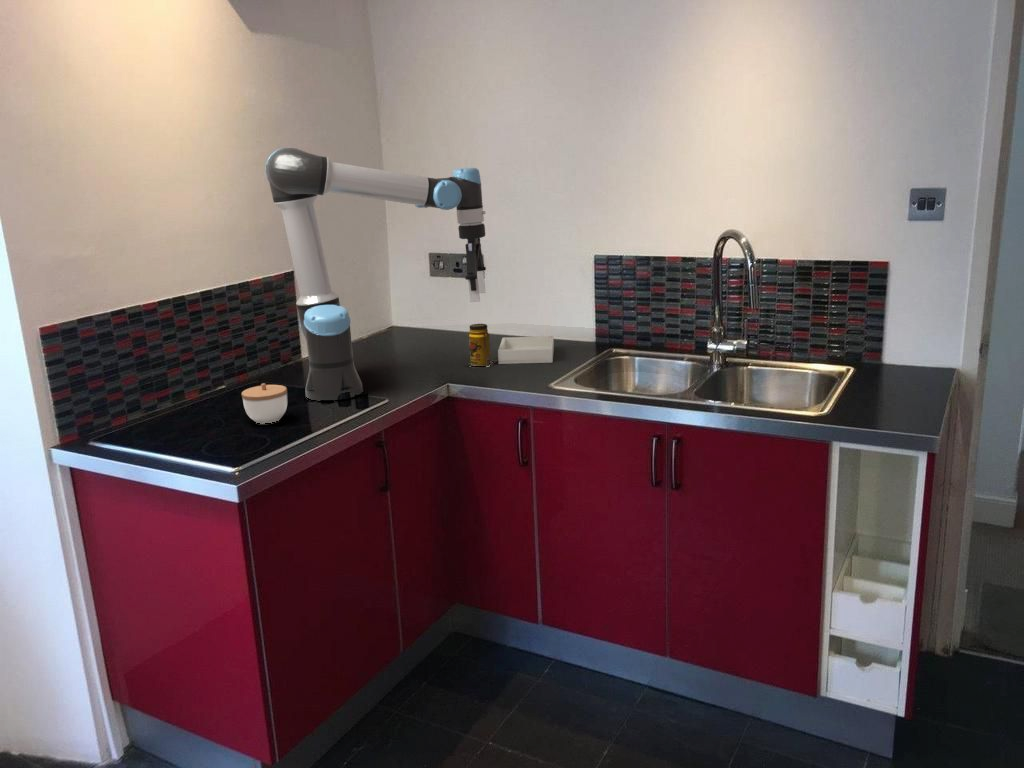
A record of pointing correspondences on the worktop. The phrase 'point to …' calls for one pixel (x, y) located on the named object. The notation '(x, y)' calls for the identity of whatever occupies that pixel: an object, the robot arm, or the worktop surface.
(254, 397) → the lidded jar
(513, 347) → the tray
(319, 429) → the worktop surface
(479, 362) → the condiment
